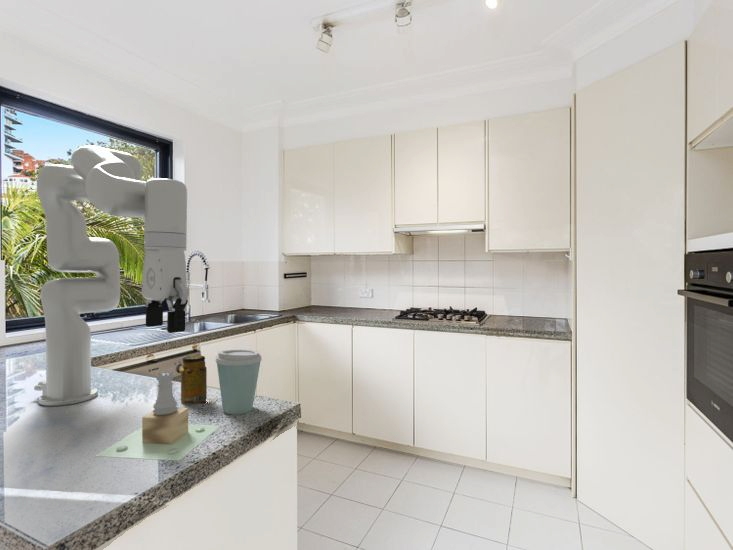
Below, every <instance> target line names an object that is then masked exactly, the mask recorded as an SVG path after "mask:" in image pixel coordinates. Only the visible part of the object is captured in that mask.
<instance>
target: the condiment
mask: <svg viewBox="0 0 733 550" xmlns="http://www.w3.org/2000/svg"><path fill="white" fill-rule="evenodd" d="M205 359H206V357H205V356H203V355H200V354H198V355H197V354H196V355H195V354H194V355H187V356H184V357H183V359H182V367H181V370H180V402H181V403H180V404H183V405H190V406H191V405H200V404H202V405H203V404H204V405H214V404H215V403H216V402H217V401H218V400H219V398H207V396H208V395H207V388H208V386H207V380H208V379H207V373H208V371H207V370H208V369H207V366H206V360H205ZM206 399H207V400H209V401H210V400H211V401H210V402H209V404H208V402H207V401H206ZM216 400H217V401H216ZM206 402H207V404H205V403H206ZM213 403H214V404H213Z"/></svg>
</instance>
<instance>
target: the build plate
mask: <svg viewBox="0 0 733 550" xmlns="http://www.w3.org/2000/svg"><path fill="white" fill-rule="evenodd" d="M220 427H221V425H218V424H215V425H214V424H198V423H197V424H196V423H195V424H193V423H188V433H186V434H185V435H184V436H182V437H181V438H180V439H178V440H177V441H176V442H175V443H173V444H152V443H142V426H141V427H140V428H138V429H136V430H135V431H133V432H132V433H130V434H128V435H127V436H125V437H123V438H122V439H120V440H119V441H117V442H115V443H113V444H112V445H110V446H109V447H107V448H105V449H103V450H102V451H100V452H98V453H97V454H96V455H94V457H103V458H122V459H124V458H125V459H141V460H154V461H155V460H158V461H159V460H160V461H177V462H179V461H181V460H183V459H184V458H185V457H186V456H187V455H188V454H190V453H191V452H192V451H193V450H194V449H195V448H196V447H198V446H199V445H200V444H201V443H202V442H204V440H205V439H207V438H208V437H210V435H212V434H213V433H214V432H215V431H216V430H217V429H218V428H220Z"/></svg>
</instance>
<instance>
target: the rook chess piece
mask: <svg viewBox="0 0 733 550" xmlns="http://www.w3.org/2000/svg"><path fill="white" fill-rule="evenodd" d="M157 374H158V375H157V377H155V378H156V380H157V381H158V384H157V385H156V386H157V387H158V391H157V392H158V393H157V398H156V400H155V402H154V404H153V405H152V407H153V410H152V411H153V413H154V414H155V415H159V416H164V415H169V414H173V413H175V411H176V410H177V409H178V408H177V405H178V403H177V400H175V397H174V393H173V385H174V384H173V379H174V378H175V375H174V374H173V371H171V370H163V371H158V373H157Z"/></svg>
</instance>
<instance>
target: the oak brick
mask: <svg viewBox="0 0 733 550" xmlns="http://www.w3.org/2000/svg"><path fill="white" fill-rule="evenodd" d="M176 407H177V406H176ZM177 408H178V409H177V410H176V411H175V413H173V414H169V415H164V416H159V415H155V414H154V413H153V410H152V411H151V412H149V413H147V414H146V415H144V416H142V418H141V419H142V420H141V424H142V426H141V427H142V443H152V444H173V443H175V442H176V441H177V440H178V439H180V438H181V437H182V436H184V435H185V434H186V433H188V424H189V407H179V406H178V407H177Z"/></svg>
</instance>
